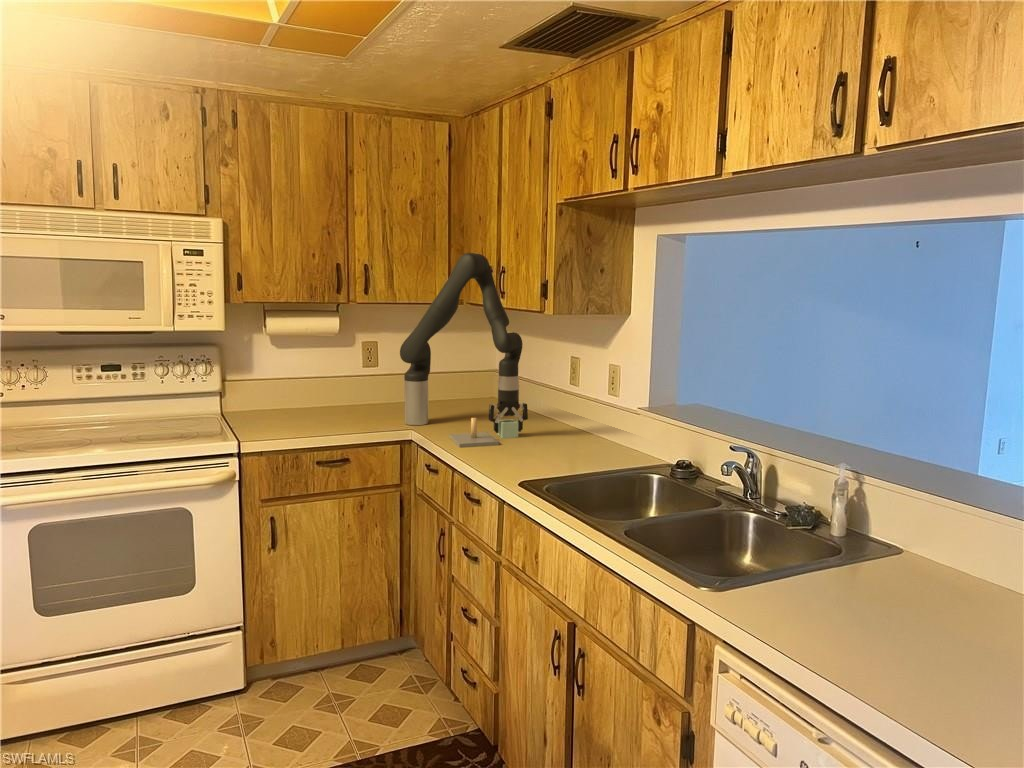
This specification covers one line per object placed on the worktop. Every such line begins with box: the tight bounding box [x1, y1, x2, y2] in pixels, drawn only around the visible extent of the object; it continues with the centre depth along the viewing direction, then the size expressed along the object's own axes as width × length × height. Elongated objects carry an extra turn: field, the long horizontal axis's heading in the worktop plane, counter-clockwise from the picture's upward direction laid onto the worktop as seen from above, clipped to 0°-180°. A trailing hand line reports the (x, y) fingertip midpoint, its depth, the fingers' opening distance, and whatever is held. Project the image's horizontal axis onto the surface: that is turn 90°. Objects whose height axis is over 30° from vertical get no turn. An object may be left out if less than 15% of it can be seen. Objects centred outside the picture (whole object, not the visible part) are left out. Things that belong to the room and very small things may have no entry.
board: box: [449, 417, 500, 448], centre depth 259 cm, size 16×14×8 cm
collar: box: [497, 419, 519, 439], centre depth 268 cm, size 6×6×6 cm
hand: (508, 432), depth 268 cm, fingers open, 8 cm apart
